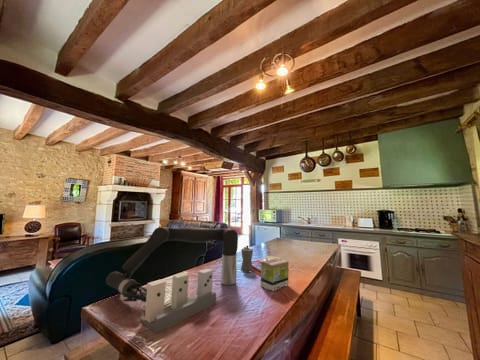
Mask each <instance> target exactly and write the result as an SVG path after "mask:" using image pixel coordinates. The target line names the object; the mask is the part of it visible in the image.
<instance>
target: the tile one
mask: <svg viewBox="0 0 480 360" xmlns="http://www.w3.org/2000/svg"><path fill="white" fill-rule="evenodd" d="M146 287H147V288H146V289H147V297H146V302H145V313H144V316H145V320H147V321H148V322H149V323H150V322H152V321H154V318H155V317H156V316H159V315H161V314H163V313H164V308H165V302H166V301H165V299H166V298H165V297H166V280H164V279H162V278H161V279H160V278H159V279H158V280H154V281H150V282H147V286H146Z"/></svg>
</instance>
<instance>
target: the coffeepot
mask: <svg viewBox="0 0 480 360" xmlns="http://www.w3.org/2000/svg"><path fill="white" fill-rule="evenodd" d="M253 253H254V249H253V248H250V247H249V245H246V246H244V247H243V248H241V257H242V261H241V269H240V270H241V271H242V272H244V271H246V272H245V273H250V272H249V271H251V272H253V270H252V269H253V261H252V258H253Z"/></svg>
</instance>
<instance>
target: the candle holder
mask: <svg viewBox="0 0 480 360" xmlns="http://www.w3.org/2000/svg"><path fill="white" fill-rule="evenodd" d="M276 258H277V259H281V258H280V256H279V257H278V256H276V255H267V256H266V257H265V261H267V260H272V259H276Z"/></svg>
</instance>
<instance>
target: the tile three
mask: <svg viewBox="0 0 480 360" xmlns="http://www.w3.org/2000/svg"><path fill="white" fill-rule="evenodd" d="M197 273H198V274H197V289H196V290H197V293H196V294H197V298H200V297H202V296H204V295H207V294H209V293H211V292H213V269H210V268H204V269H201V270H198V272H197Z"/></svg>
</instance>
